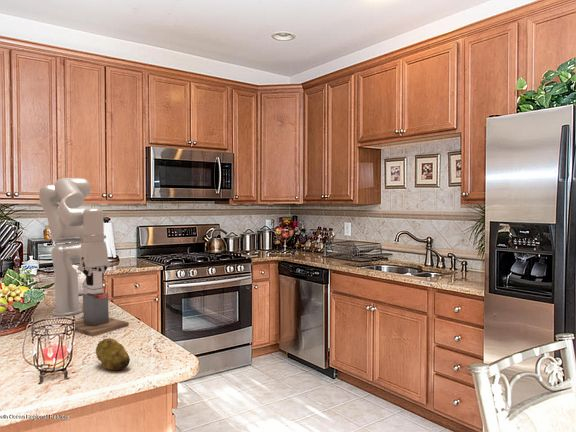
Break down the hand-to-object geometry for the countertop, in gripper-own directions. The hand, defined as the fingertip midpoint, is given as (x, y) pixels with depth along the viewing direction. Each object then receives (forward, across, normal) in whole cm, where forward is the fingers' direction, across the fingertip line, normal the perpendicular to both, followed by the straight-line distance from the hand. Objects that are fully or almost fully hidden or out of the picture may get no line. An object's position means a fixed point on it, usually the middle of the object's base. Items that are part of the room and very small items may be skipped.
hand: (95, 283), depth 180 cm
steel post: (+14, 0, 0) cm, 14 cm away
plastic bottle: (+18, -8, -16) cm, 25 cm away
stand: (+18, 0, 0) cm, 18 cm away
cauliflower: (+18, -31, -67) cm, 76 cm away
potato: (+18, +22, +43) cm, 52 cm away
